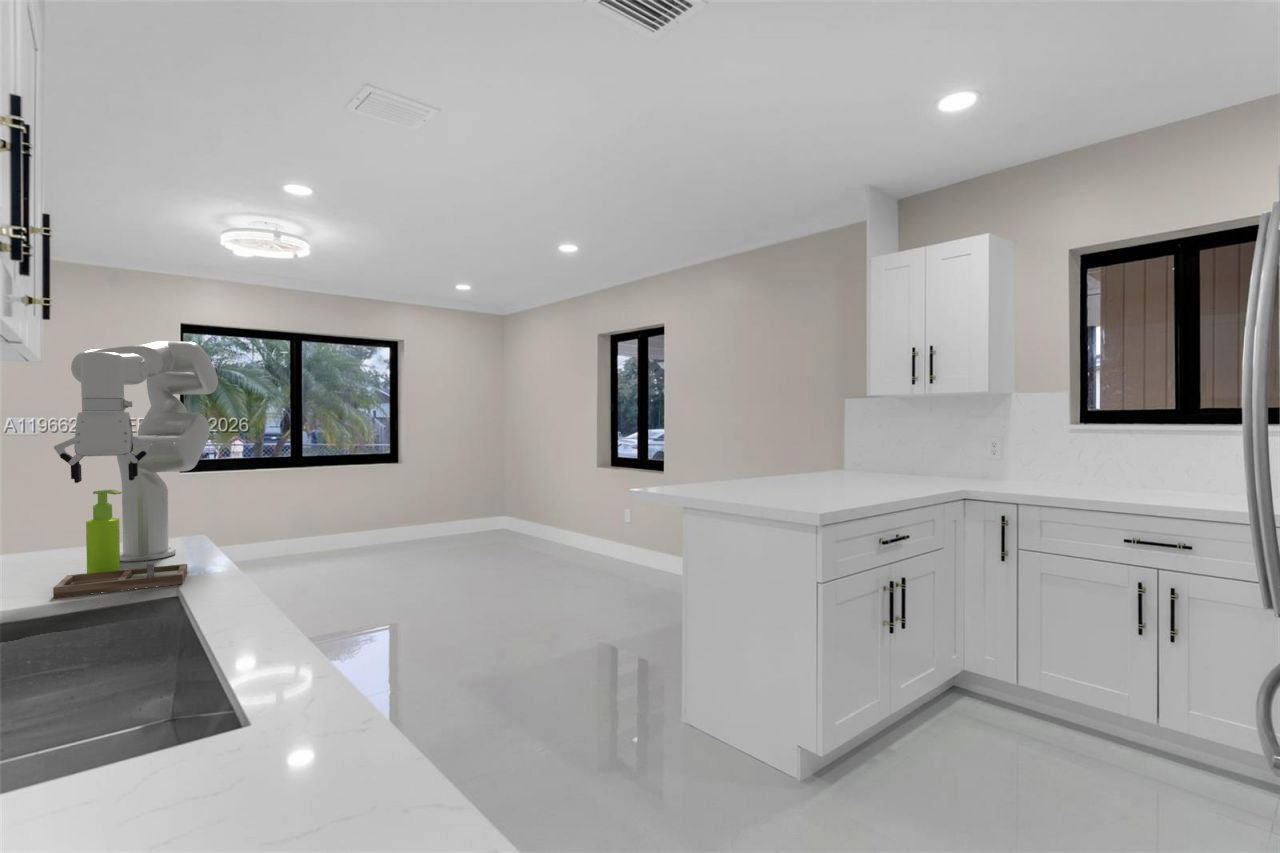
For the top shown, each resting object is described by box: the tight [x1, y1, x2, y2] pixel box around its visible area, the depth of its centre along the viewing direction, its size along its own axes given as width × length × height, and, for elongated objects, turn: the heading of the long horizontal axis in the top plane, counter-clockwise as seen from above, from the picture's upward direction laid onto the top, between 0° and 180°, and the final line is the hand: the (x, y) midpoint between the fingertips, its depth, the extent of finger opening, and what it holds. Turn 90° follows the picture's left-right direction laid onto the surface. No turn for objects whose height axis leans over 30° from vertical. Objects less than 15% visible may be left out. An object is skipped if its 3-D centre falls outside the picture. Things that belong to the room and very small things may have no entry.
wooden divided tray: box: [52, 562, 188, 599], centre depth 143 cm, size 11×22×5 cm, turn 121°
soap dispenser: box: [85, 489, 122, 573], centre depth 149 cm, size 6×7×20 cm
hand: (105, 480), depth 149 cm, fingers open, 9 cm apart
